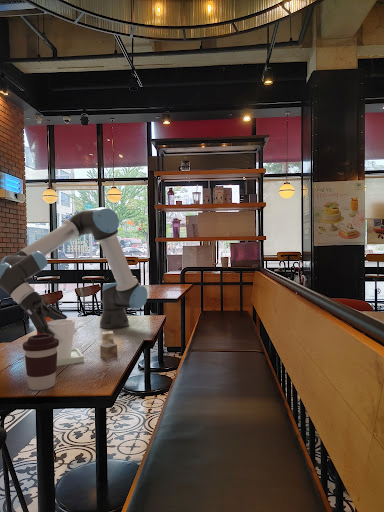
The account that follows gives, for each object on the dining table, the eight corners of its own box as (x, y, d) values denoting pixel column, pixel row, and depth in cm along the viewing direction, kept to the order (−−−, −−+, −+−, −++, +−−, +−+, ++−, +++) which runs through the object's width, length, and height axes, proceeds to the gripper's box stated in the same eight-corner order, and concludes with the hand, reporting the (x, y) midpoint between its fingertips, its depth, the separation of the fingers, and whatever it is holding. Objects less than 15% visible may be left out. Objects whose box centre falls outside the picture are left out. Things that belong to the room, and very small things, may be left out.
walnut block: (110, 354, 138) (110, 343, 137) (117, 356, 134) (117, 345, 134) (100, 357, 134) (100, 345, 134) (107, 359, 131) (106, 347, 131)
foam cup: (49, 362, 125) (48, 325, 125) (47, 355, 133) (46, 321, 133) (77, 358, 129) (76, 322, 129) (73, 351, 137) (72, 318, 137)
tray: (77, 352, 140) (77, 347, 140) (83, 361, 129) (83, 356, 129) (41, 358, 134) (41, 352, 134) (45, 367, 123) (45, 362, 123)
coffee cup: (54, 392, 101) (52, 339, 101) (18, 393, 101) (16, 341, 100) (63, 379, 111) (62, 331, 111) (31, 380, 110) (30, 333, 110)
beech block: (112, 341, 158) (112, 331, 158) (113, 343, 154) (113, 333, 154) (102, 342, 157) (102, 331, 157) (102, 344, 152) (102, 334, 152)
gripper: (36, 300, 144) (73, 336, 144) (1, 310, 119) (46, 355, 119) (49, 286, 144) (86, 323, 143) (16, 294, 119) (61, 339, 119)
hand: (68, 337), depth 131 cm, fingers open, 13 cm apart
